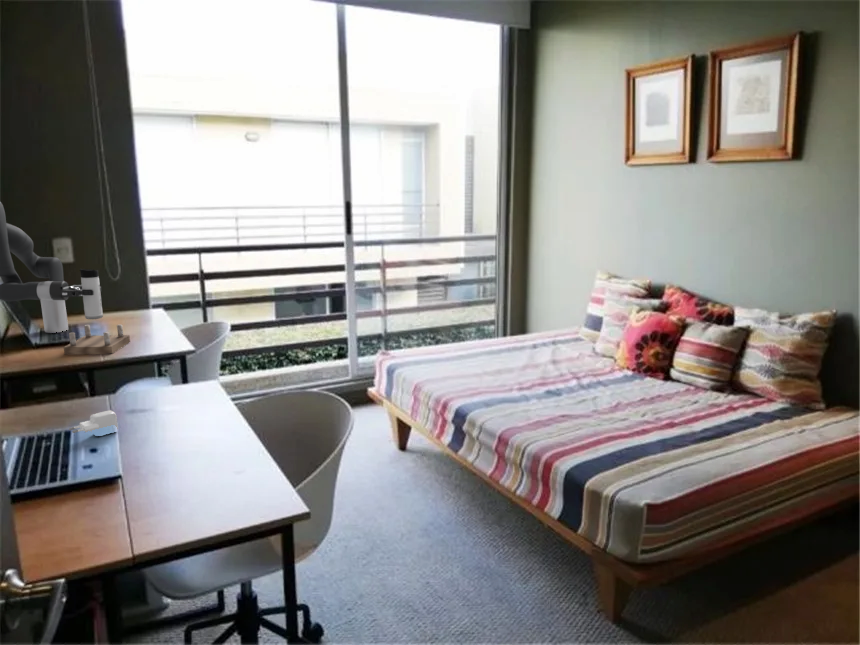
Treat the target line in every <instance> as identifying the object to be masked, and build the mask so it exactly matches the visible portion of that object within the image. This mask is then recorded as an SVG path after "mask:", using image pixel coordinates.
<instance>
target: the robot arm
mask: <svg viewBox="0 0 860 645" xmlns="http://www.w3.org/2000/svg"><path fill="white" fill-rule="evenodd" d="M6 217H7V216H6V212H5V208H4V205H3V203H2V202H1V201H0V278H1V280H2V282H3V283H1V284H0V301H4V302H16V301H17V302H18V301H19V302H20V301H25V300H34V301H35V300H39V301H40V305H41V313H42V321H43V327H44V328H43V329H44V333H47V334H52V333H53V334H54V333H56V332H57V333H62V331H63V332H66V330H67V331H69V323H68V322H69V321H68V314H67V309H66V308H67V307H66V301H67V300H68V299H69V298H79V297H83V295H94V291H93V290H82V284H73V285H69V283H68V282H67V281H65V280H64V279H65V278H64V267H63V263H62V261H61V260H60V258H59V257H54V256H48V257H47V256H44V257H43V256H39V255H37V253H35V252H34V241H33V240H32V238H31V237H30V236H29V235H28V234H27V233H26V232H25V231H23V230H22V229H21V228H19V227H17V226H16V225H13V224H11V223H8V222H7V220H6V219H7V218H6ZM11 253H12V254H13V255H15V257H16V258H17V259H18V260H19V261H21V263H22V264H24V266H25V267H26V268H27V269H28V270H29V272H31V273H32V275H34V276H35V277H36V278H38V279H48V280H47V281H28V282H25V283H24V282H23V281H22V280H21V278H20V276H19V274H18V273H17V271H16V268H15V265H14V262H13V259H12V254H11ZM101 292H102V286H100V293H101Z"/></svg>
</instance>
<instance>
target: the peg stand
mask: <svg viewBox="0 0 860 645" xmlns="http://www.w3.org/2000/svg"><path fill="white" fill-rule="evenodd" d="M83 326H84V327H83V328H84V336H82V337H80V338H78V339H77V340H76V332H69V333H68V337H69V344H67V345H65V346H64V347H63V351H64V353H63V354H64V355H68V356H69V355H107V354H106V353H113V352H114V353H116V352H118V351H119V350H120V349H122V348H124V347H125V346H126V344H127V345H129V342H130V343H131V339H130V338H131V337H130V335H129V334H126V335H125V334H124V330H123V324H117V325H116V328H117V330H116V331H117V334H116V335H115V334H114V335H113V334H112V335H110V332H109V331H105V332H103V334H102V335H92V333H91V332H92V331H91V326H90V324H85V325H83ZM124 345H125V346H124ZM121 347H122V348H121ZM118 349H119V350H118ZM115 351H116V352H115ZM114 353H113V354H114Z"/></svg>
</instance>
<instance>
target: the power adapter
mask: <svg viewBox="0 0 860 645" xmlns="http://www.w3.org/2000/svg"><path fill="white" fill-rule="evenodd" d="M117 417H118V416H117V414H116V412H115V411H113V410H109V409H108V410H104V411H100V412H97V413H92V414H90V417H89V420H86V421H81V422H79V424H78V425H76V426H72V427H68V431H71V432H72V434H76V433H78V432H84V431H85V432H84V433H89V432H92V430H95V429H99V428H103V427H107V426H111V425H115V426H116V427H117V429H118V430H119V426H118V425H119V424H118V418H117ZM88 431H89V432H88Z"/></svg>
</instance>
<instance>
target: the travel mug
mask: <svg viewBox="0 0 860 645" xmlns="http://www.w3.org/2000/svg"><path fill="white" fill-rule="evenodd" d="M79 272H80V281H81V282H80V283H81V285H82V290H93V291H94V295H83V296H82V302H83V310H84V318H85V319H86V320H98V319H102V318H104V313H103V305H102V295H101V292H100V287H101V285H100V276H99V269H97V270H96V269H93V268H92V269H86V268H83V269H82V268H79Z"/></svg>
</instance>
